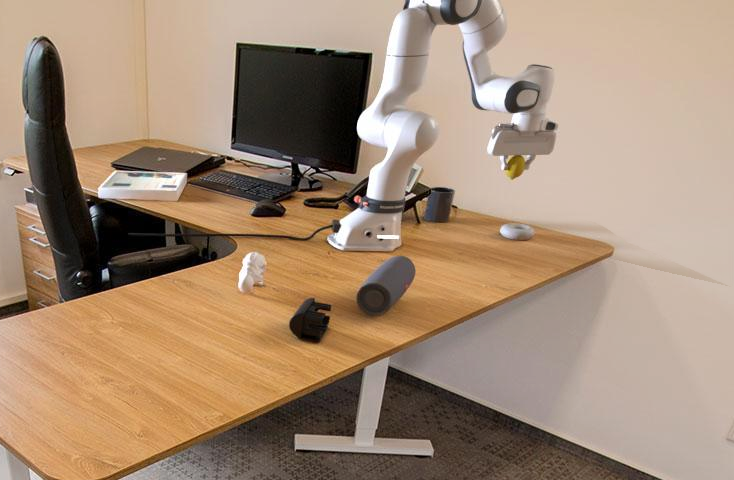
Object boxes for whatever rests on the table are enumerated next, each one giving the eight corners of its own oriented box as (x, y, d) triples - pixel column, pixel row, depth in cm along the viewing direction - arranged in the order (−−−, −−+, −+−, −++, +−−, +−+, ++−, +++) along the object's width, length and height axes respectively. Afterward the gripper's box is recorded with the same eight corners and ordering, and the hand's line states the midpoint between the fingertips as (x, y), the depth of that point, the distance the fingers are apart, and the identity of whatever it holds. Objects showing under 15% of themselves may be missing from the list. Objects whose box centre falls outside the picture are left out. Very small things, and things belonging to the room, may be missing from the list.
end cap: (299, 322, 163) (302, 295, 159) (328, 327, 160) (332, 300, 157) (287, 338, 155) (290, 310, 152) (318, 344, 153) (321, 316, 149)
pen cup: (430, 223, 233) (436, 193, 227) (419, 216, 239) (425, 187, 234) (452, 222, 233) (459, 192, 228) (441, 215, 240) (447, 186, 235)
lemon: (520, 178, 220) (527, 152, 216) (522, 182, 216) (529, 156, 212) (501, 177, 222) (508, 151, 218) (503, 181, 217) (509, 154, 213)
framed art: (187, 172, 283) (177, 190, 257) (186, 182, 285) (177, 201, 259) (115, 170, 287) (98, 188, 261) (115, 179, 289) (98, 198, 263)
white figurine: (268, 251, 181) (256, 269, 172) (266, 280, 186) (255, 300, 177) (245, 248, 183) (232, 266, 174) (244, 277, 188) (231, 296, 179)
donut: (538, 242, 214) (526, 232, 223) (541, 231, 213) (529, 221, 221) (504, 241, 215) (494, 231, 224) (507, 230, 213) (497, 221, 222)
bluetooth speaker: (389, 324, 161) (397, 284, 156) (351, 316, 166) (357, 277, 160) (414, 293, 178) (421, 256, 173) (378, 287, 182) (384, 250, 177)
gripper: (500, 125, 207) (488, 172, 214) (563, 124, 208) (550, 171, 215) (489, 122, 212) (478, 168, 219) (551, 121, 214) (538, 166, 221)
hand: (514, 169), depth 217 cm, fingers closed on lemon, 5 cm apart
